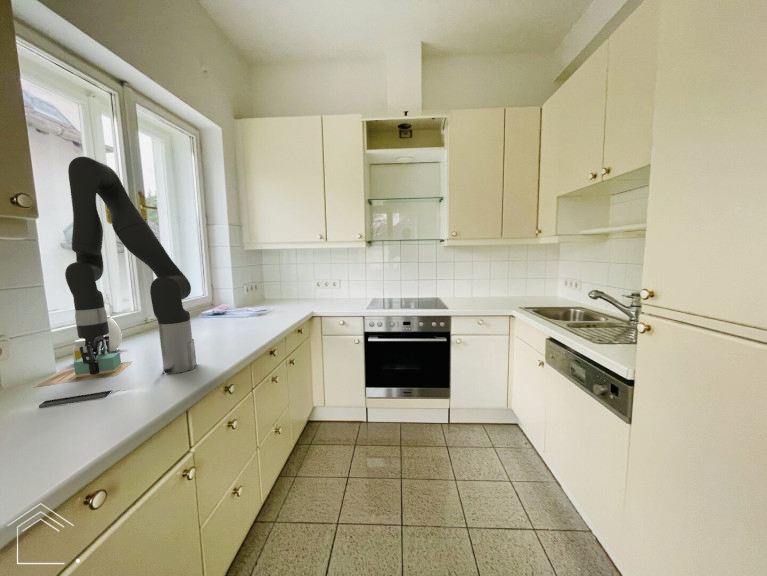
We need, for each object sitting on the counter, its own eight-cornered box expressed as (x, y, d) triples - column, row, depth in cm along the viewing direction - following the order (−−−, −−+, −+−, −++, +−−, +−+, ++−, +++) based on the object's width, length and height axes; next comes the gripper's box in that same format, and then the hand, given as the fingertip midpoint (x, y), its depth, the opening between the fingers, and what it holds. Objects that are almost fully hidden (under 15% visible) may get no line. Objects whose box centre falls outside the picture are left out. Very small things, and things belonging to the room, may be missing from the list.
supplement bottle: (98, 363, 114) (94, 338, 112) (79, 369, 109) (75, 342, 107) (91, 361, 116) (87, 337, 115) (72, 367, 111) (68, 341, 110)
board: (133, 365, 111) (133, 361, 111) (117, 379, 98) (116, 375, 98) (61, 374, 104) (61, 370, 104) (34, 392, 91) (33, 387, 91)
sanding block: (121, 366, 106) (119, 352, 106) (114, 371, 101) (112, 357, 101) (84, 371, 103) (82, 356, 102) (75, 377, 98) (73, 362, 97)
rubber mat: (119, 383, 96) (119, 381, 95) (105, 397, 86) (104, 394, 86) (61, 392, 90) (60, 389, 90) (39, 408, 81) (38, 405, 81)
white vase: (108, 349, 131) (102, 308, 129) (128, 348, 132) (122, 307, 130) (93, 355, 123) (87, 312, 121) (114, 354, 124) (108, 311, 122)
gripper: (96, 325, 95) (103, 376, 97) (115, 316, 108) (122, 361, 110) (64, 328, 92) (73, 380, 94) (88, 318, 105) (95, 365, 107)
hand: (99, 370), depth 102 cm, fingers closed on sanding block, 5 cm apart
